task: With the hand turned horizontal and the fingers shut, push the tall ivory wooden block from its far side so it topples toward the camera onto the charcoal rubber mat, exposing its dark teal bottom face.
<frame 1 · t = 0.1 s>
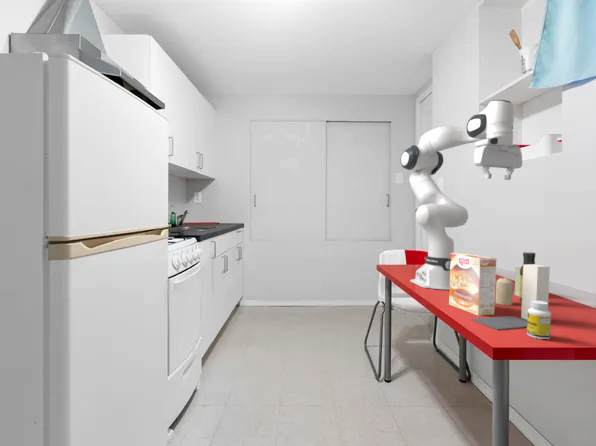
hand: (497, 179, 134), 48 cm above the table, tool pointing down, fingers open, 8 cm apart
can: (526, 296, 150), on the table
mat: (504, 323, 110), on the table
candle: (503, 304, 135), on the table
coffeecake box: (470, 310, 125), on the table
sauce bottle: (528, 303, 137), on the table
supplement bottle: (538, 337, 98), on the table
block: (534, 320, 113), on the table
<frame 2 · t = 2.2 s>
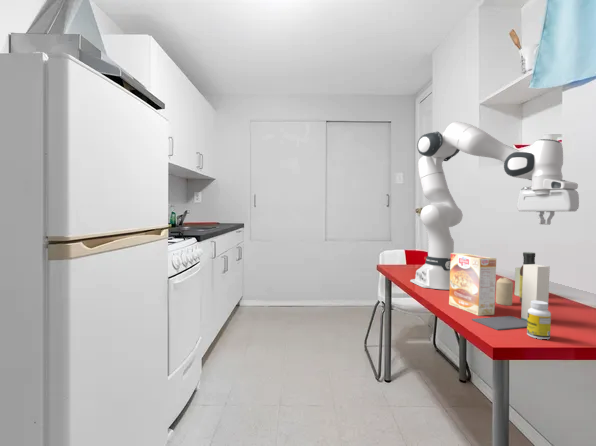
hand: (544, 224, 124), 31 cm above the table, tool pointing down, fingers closed
nothing on the table moved.
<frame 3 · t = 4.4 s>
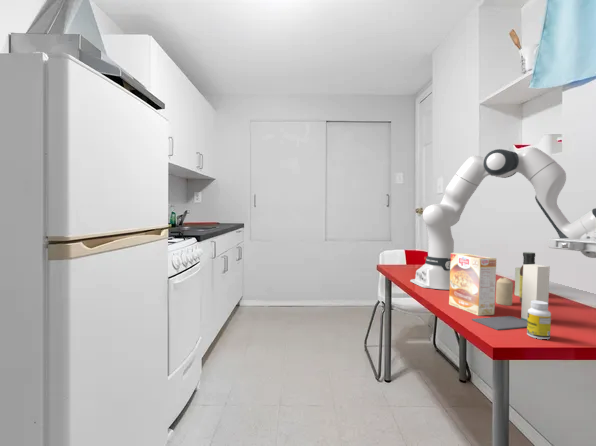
hand: (565, 245, 116), 24 cm above the table, tool horizontal, fingers closed
nothing on the table moved.
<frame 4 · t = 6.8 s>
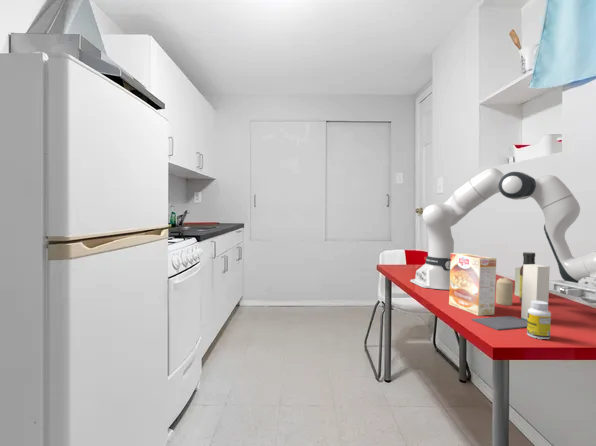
hand: (563, 291, 116), 9 cm above the table, tool horizontal, fingers closed
nothing on the table moved.
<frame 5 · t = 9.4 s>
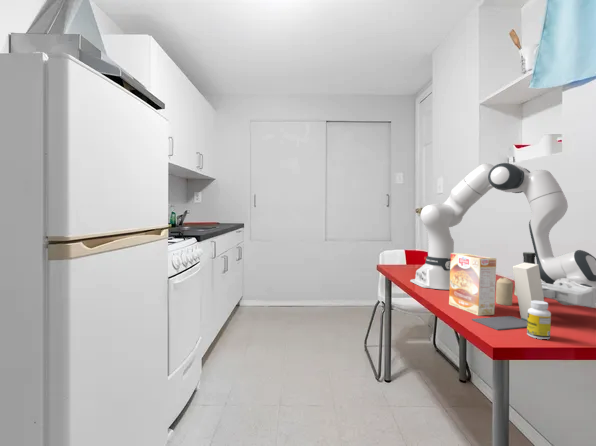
hand: (536, 293, 113), 9 cm above the table, tool horizontal, fingers closed
block: (533, 318, 113), point 1 cm above the table, tilted 15°
everything else where it was.
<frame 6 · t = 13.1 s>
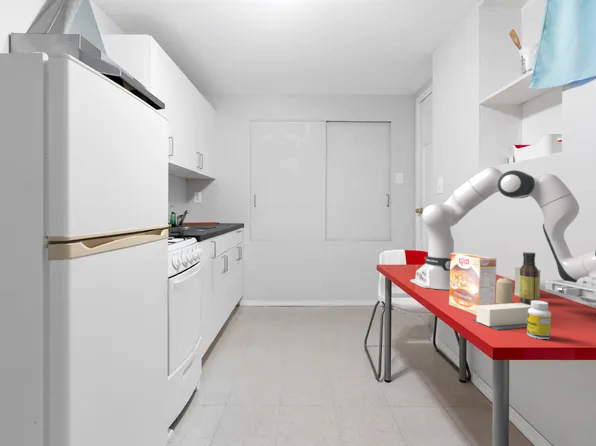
hand: (561, 291, 116), 9 cm above the table, tool horizontal, fingers closed
block: (528, 312, 112), point 3 cm above the table, tilted 90°, touching mat
everything else where it was.
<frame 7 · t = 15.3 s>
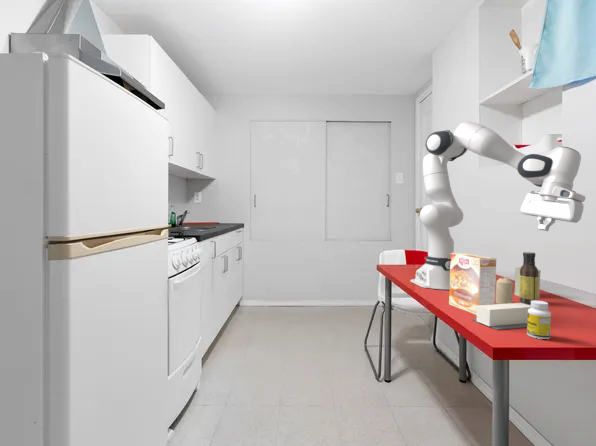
hand: (542, 230, 126), 29 cm above the table, tool pointing down, fingers closed
nothing on the table moved.
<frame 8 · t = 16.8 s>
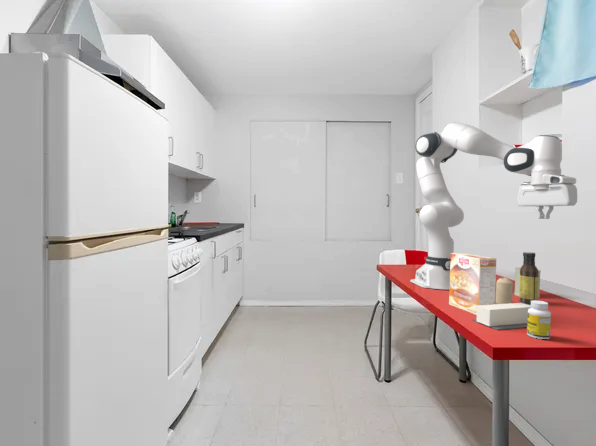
hand: (543, 218, 126), 33 cm above the table, tool pointing down, fingers closed
nothing on the table moved.
at the end: block tilted 90°; block inside the target area (6.5 cm from its centre), point 2.9 cm above the table; the gripper is holding nothing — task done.
